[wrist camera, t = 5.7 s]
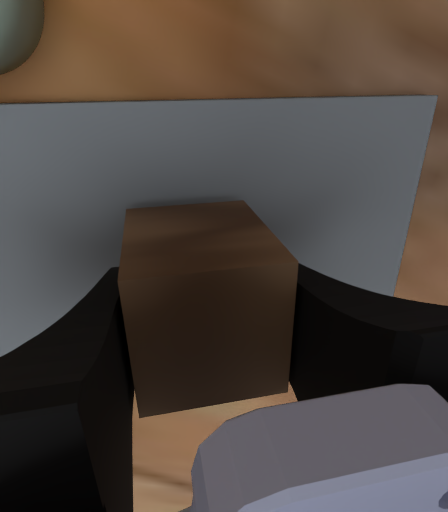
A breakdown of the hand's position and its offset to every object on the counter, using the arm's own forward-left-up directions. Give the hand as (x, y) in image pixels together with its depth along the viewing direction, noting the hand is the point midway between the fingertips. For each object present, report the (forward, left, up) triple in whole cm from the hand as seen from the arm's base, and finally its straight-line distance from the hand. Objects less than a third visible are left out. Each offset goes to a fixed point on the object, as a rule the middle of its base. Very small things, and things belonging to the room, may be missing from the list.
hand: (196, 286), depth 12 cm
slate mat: (-1, 0, -4) cm, 4 cm away
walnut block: (0, 0, -2) cm, 2 cm away
